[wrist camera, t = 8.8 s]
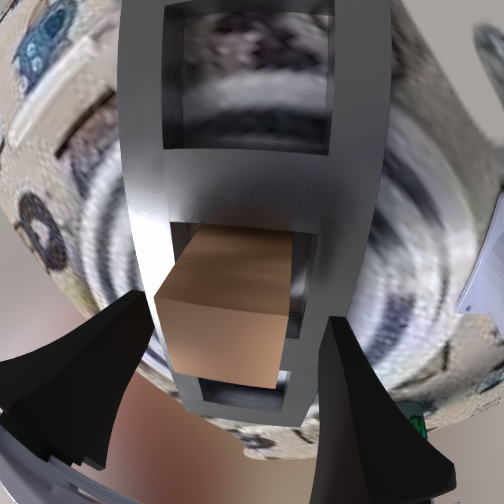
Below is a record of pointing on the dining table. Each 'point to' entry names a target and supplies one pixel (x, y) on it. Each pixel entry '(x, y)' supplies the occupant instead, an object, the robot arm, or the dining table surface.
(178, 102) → the grey flat perforated plate
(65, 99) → the dining table surface
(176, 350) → the square block
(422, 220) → the dining table surface
